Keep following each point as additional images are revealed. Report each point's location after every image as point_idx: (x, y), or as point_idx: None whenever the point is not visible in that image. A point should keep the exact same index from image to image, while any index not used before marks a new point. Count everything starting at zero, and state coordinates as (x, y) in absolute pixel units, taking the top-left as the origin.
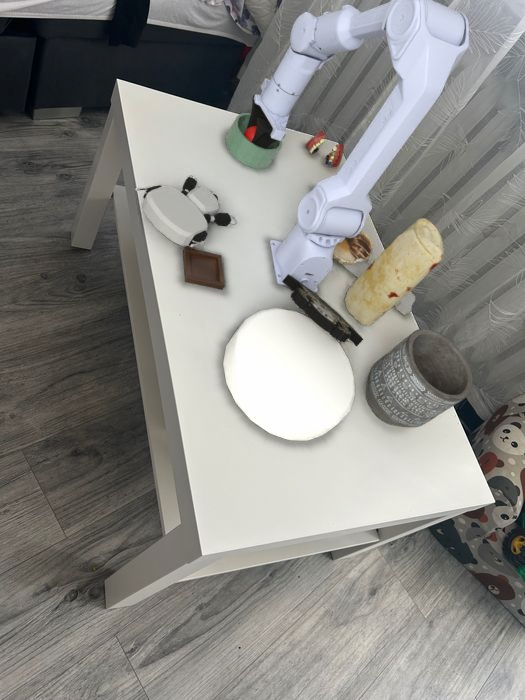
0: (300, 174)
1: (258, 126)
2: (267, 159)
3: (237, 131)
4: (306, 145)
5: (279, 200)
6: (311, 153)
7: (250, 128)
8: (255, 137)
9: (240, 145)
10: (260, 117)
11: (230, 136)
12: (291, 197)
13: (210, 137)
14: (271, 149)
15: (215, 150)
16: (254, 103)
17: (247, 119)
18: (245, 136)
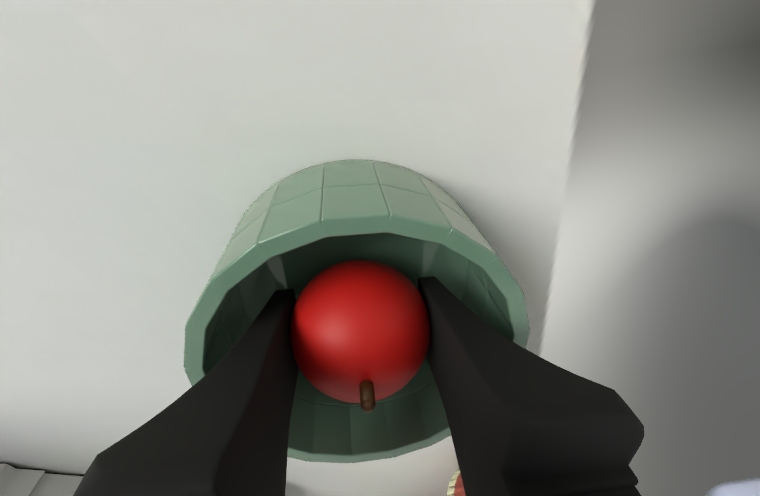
0: None
1: (99, 472)
2: None
3: (282, 227)
4: None
5: (103, 394)
6: (455, 475)
7: (376, 318)
8: (225, 363)
9: (230, 245)
10: (458, 397)
11: (324, 181)
12: None
13: (338, 53)
14: None
15: (227, 85)
16: (512, 418)
17: (495, 294)
18: (338, 278)
